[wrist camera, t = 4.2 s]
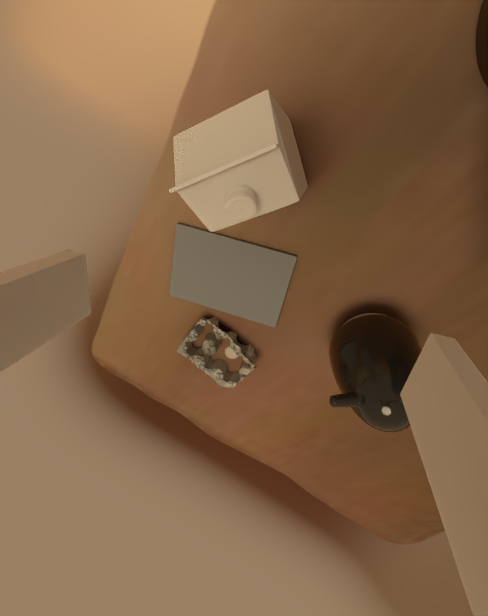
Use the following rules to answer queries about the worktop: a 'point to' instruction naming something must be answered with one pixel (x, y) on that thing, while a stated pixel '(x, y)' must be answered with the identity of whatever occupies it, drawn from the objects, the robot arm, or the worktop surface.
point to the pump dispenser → (374, 368)
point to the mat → (230, 274)
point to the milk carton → (239, 163)
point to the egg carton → (210, 347)
